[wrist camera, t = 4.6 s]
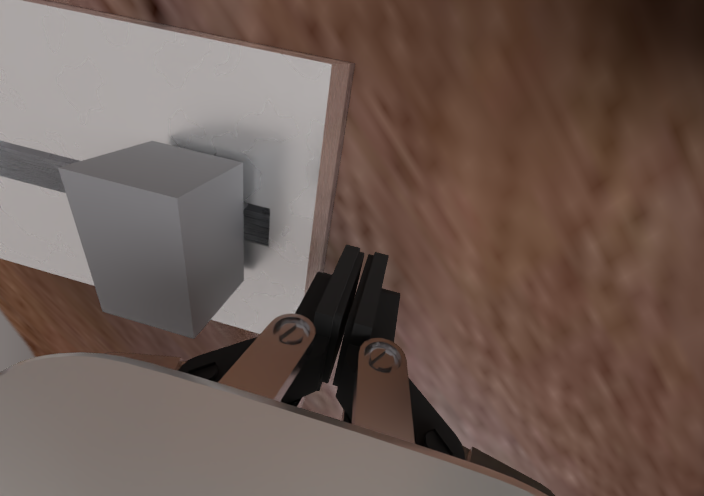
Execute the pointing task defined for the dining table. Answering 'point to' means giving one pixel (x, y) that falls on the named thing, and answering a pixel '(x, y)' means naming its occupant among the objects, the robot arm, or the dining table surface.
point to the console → (169, 136)
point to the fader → (160, 232)
